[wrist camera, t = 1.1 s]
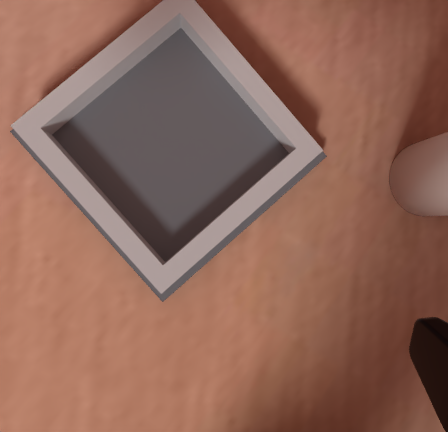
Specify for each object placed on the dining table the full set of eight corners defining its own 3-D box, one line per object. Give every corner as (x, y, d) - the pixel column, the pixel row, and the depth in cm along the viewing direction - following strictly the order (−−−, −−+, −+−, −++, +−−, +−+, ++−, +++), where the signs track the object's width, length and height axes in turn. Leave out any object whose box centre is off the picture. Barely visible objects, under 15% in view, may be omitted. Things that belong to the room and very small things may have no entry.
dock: (320, 159, 23) (336, 151, 20) (164, 298, 22) (160, 308, 19) (184, -1, 22) (182, -29, 20) (18, 135, 21) (-5, 124, 19)
